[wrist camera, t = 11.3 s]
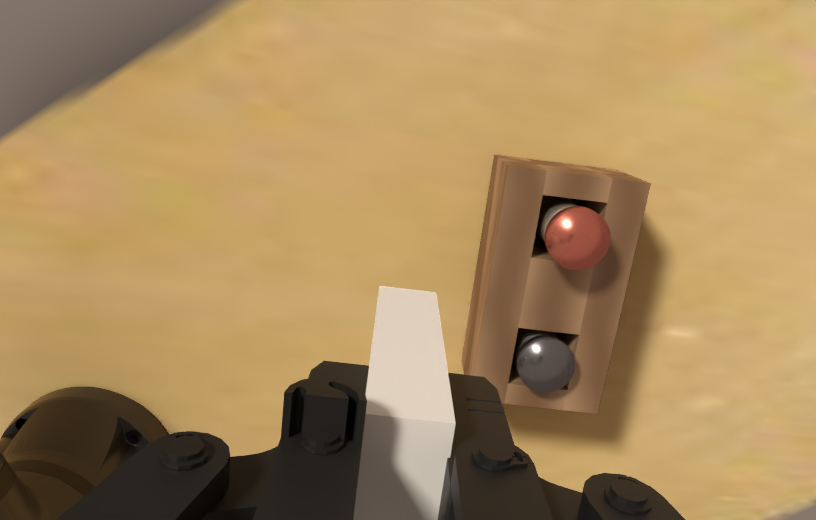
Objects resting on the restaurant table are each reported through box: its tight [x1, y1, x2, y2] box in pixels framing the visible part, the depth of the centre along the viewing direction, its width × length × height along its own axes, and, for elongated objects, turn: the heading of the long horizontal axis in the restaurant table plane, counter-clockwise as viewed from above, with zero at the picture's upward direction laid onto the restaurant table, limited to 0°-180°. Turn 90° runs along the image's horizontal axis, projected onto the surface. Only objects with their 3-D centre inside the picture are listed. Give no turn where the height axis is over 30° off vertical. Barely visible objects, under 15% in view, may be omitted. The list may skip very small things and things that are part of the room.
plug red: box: [536, 195, 611, 270], centre depth 45 cm, size 4×4×8 cm
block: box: [462, 155, 651, 414], centre depth 48 cm, size 10×18×7 cm, turn 173°
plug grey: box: [514, 328, 575, 392], centre depth 49 cm, size 4×4×8 cm
